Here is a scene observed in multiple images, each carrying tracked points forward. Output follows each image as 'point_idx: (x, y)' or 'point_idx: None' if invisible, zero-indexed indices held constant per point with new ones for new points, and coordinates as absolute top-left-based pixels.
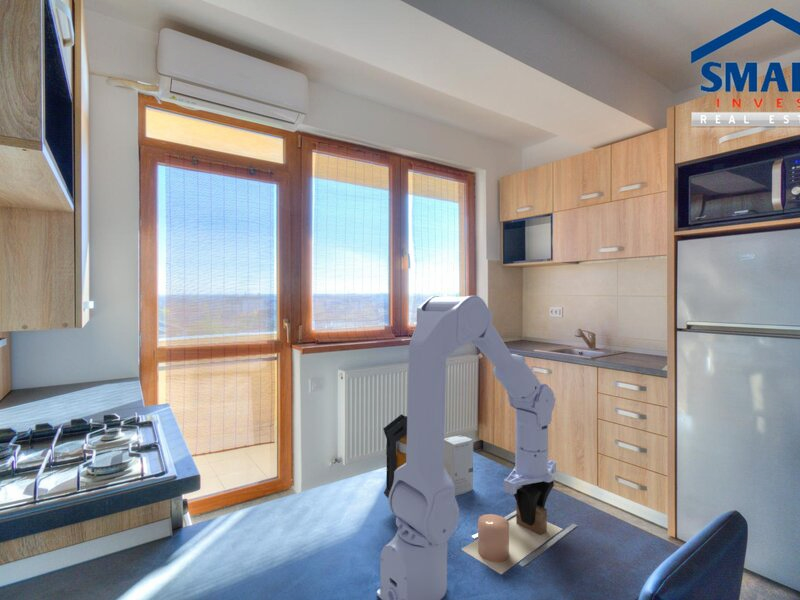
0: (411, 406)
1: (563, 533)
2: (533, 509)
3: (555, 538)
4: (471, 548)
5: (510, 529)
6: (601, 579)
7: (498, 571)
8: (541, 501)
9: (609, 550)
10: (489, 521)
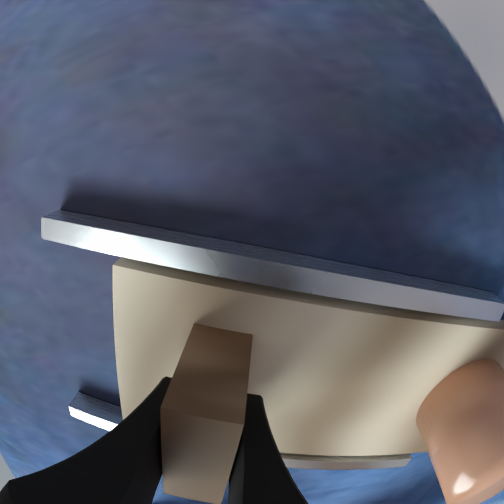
0: None
1: (153, 249)
2: (277, 467)
3: (233, 269)
4: None
5: (291, 428)
6: (363, 20)
7: None
8: (144, 458)
9: (106, 48)
10: (499, 482)
